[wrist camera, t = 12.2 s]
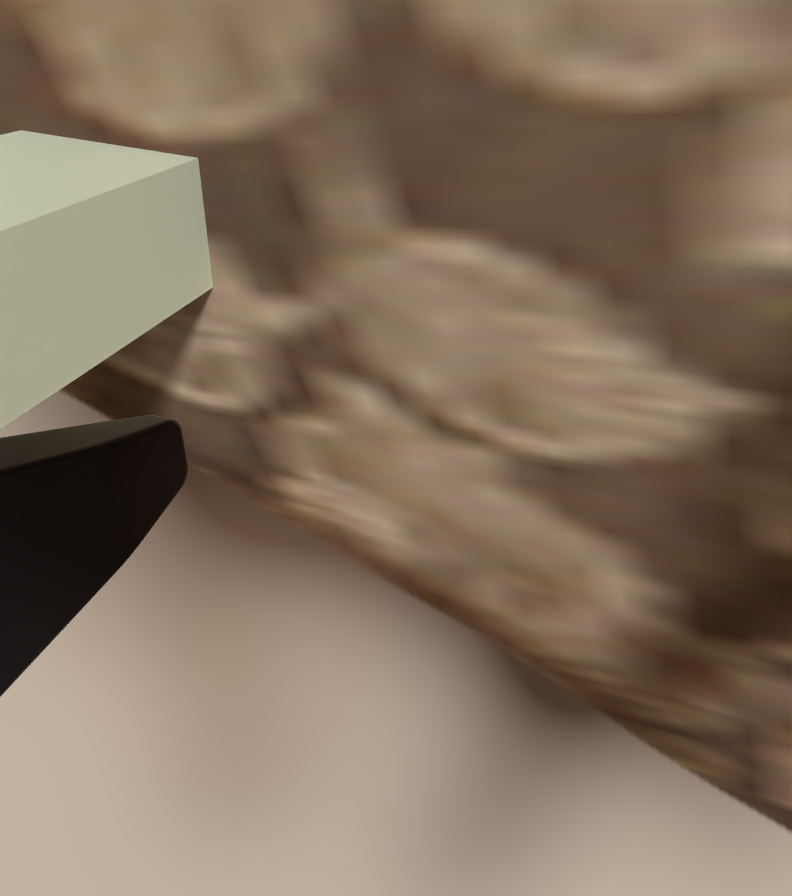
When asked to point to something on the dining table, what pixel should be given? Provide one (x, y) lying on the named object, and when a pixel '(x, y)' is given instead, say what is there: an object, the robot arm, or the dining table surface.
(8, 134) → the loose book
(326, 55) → the dining table surface
